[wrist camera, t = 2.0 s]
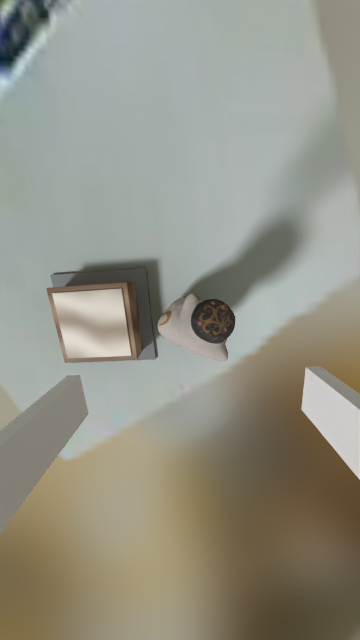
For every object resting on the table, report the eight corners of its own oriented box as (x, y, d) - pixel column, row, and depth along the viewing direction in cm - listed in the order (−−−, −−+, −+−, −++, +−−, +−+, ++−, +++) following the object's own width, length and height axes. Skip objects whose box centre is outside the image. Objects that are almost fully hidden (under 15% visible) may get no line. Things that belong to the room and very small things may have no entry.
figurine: (223, 328, 31) (253, 376, 17) (168, 344, 33) (152, 400, 18) (210, 279, 29) (231, 284, 15) (152, 297, 31) (119, 318, 16)
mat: (52, 275, 31) (50, 275, 30) (145, 267, 29) (145, 267, 29) (72, 361, 34) (71, 362, 34) (156, 358, 33) (155, 359, 33)
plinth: (64, 286, 30) (45, 288, 26) (134, 281, 30) (125, 282, 26) (79, 352, 33) (64, 363, 29) (143, 349, 33) (136, 360, 29)
